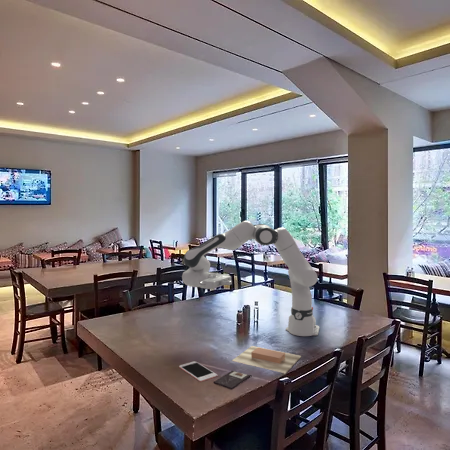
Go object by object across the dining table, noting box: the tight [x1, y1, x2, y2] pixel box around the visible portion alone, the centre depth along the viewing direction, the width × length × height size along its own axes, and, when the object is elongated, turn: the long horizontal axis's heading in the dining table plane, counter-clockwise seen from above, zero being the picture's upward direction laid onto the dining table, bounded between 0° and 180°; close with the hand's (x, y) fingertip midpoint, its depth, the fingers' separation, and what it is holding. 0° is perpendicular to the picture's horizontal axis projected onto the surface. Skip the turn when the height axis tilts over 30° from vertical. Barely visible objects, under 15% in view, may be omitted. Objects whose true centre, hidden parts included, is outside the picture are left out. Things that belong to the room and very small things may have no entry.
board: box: [231, 345, 302, 376], centre depth 171 cm, size 22×26×1 cm
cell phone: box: [178, 360, 218, 383], centre depth 158 cm, size 9×18×1 cm, turn 37°
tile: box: [251, 347, 286, 364], centre depth 171 cm, size 7×3×14 cm
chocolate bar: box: [213, 370, 253, 390], centre depth 152 cm, size 9×1×18 cm
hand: (230, 283), depth 191 cm, fingers closed
